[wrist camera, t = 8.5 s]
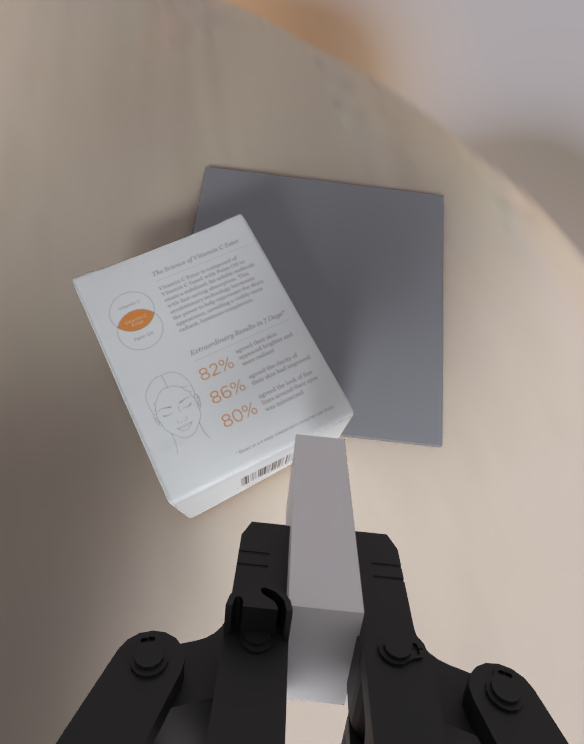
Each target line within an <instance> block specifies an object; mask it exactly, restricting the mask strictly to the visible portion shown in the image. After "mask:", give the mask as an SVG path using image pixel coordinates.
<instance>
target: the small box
mask: <svg viewBox="0 0 584 744" xmlns="http://www.w3.org/2000/svg"><path fill="white" fill-rule="evenodd" d="M73 284H74V287H75V290H76V292H77V294H78V296H79V298H80V301H81V303H82V305H83V307H84V309H85V312H86V314H87V316H88V319H89V321H90V323H91V326H92V328H93V330H94V332H95V335H96V337H97V339H98V342H99V344H100V346H101V349H102V351H103V353H104V355H105V358H106V360H107V362H108V365H109V367H110V369H111V372H112V374H113V377H114V379H115V381H116V384H117V386H118V388H119V390H120V393H121V395H122V397H123V400H124V402H125V404H126V407H127V409H128V411H129V413H130V416H131V418H132V420H133V422H134V424H135V427H136V429H137V431H138V434H139V436H140V438H141V441H142V443H143V445H144V448H145V450H146V452H147V455H148V457H149V459H150V461H151V464H152V466H153V468H154V471H155V473H156V475H157V478H158V480H159V482H160V485H161V487H162V489H163V492H164V494H165V496H166V498H167V500H168V502H169V503H170V504H171V505H173V506H174V507H175V508H176V509H178V510H179V511H180V512H182V513H183V514H184V515H186V516H187V517H188V518H193V517H195V516H197V515H199V514H201V513H203V512H205V511H207V510H208V509H210V508H212V507H214V506H216V505H218V504H220V503H221V502H223V501H225V500H227V499H229V498H230V497H232V496H234V495H236V494H238V493H240V492H241V491H243V490H245V489H247V488H249V487H250V486H252V485H254V484H256V483H258V482H259V481H261V480H263V479H265V478H267V477H269V476H270V475H272V474H274V473H276V472H278V471H279V470H281V469H283V468H285V467H287V466H289V465H291V464H292V460H293V452H294V445H295V437H296V434H301V435H310V436H319V437H329V438H339V437H340V435H341V433H342V432H343V430H344V429H345V427H346V426H347V424H348V422H349V421H350V419H351V418H352V416H353V409H352V407H351V405H350V403H349V401H348V400H347V398H346V396H345V394H344V392H343V391H342V389H341V387H340V386H339V384H338V382H337V380H336V379H335V377H334V375H333V373H332V372H331V370H330V368H329V367H328V365H327V363H326V361H325V360H324V358H323V356H322V354H321V352H320V351H319V349H318V347H317V345H316V344H315V342H314V340H313V338H312V337H311V335H310V333H309V332H308V330H307V328H306V326H305V325H304V323H303V321H302V319H301V318H300V316H299V314H298V312H297V311H296V309H295V307H294V305H293V303H292V302H291V300H290V298H289V296H288V295H287V293H286V291H285V289H284V287H283V286H282V284H281V282H280V280H279V278H278V277H277V275H276V273H275V271H274V270H273V268H272V266H271V264H270V262H269V260H268V259H267V257H266V255H265V253H264V251H263V250H262V248H261V246H260V245H259V243H258V241H257V239H256V238H255V236H254V234H253V232H252V231H251V229H250V227H249V226H248V224H247V222H246V220H245V219H244V217H243V216H242V215H241V214H238V215H236V216H234V217H232V218H229V219H227V220H225V221H223V222H221V223H219V224H217V225H214V226H212V227H210V228H207V229H205V230H202V231H200V232H197V233H194V234H192V235H189V236H187V237H184V238H182V239H179V240H177V241H174V242H172V243H169V244H167V245H164V246H161V247H159V248H156V249H154V250H151V251H148V252H146V253H143V254H141V255H138V256H135V257H133V258H130V259H128V260H125V261H122V262H120V263H117V264H114V265H112V266H109V267H107V268H104V269H101V270H98V271H91V272H88V273H86V274H83V275H80V276H77V277H75V278H74V279H73Z"/></svg>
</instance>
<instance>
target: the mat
mask: <svg viewBox="0 0 584 744" xmlns="http://www.w3.org/2000/svg"><path fill="white" fill-rule="evenodd" d="M238 214H241V215H242V216H243V217H244V219H245V220H246V222H247V224H248V226H249V227H250V229H251V231H252V232H253V234H254V236H255V238H256V239H257V241H258V243H259V245H260V246H261V248H262V250H263V251H264V253H265V255H266V257H267V259H268V260H269V262H270V264H271V266H272V268H273V270H274V271H275V273H276V275H277V277H278V278H279V280H280V282H281V284H282V286H283V287H284V289H285V291H286V293H287V295H288V296H289V298H290V300H291V302H292V303H293V305H294V307H295V309H296V311H297V312H298V314H299V316H300V318H301V319H302V321H303V323H304V325H305V326H306V328H307V330H308V332H309V333H310V335H311V337H312V338H313V340H314V342H315V344H316V345H317V347H318V349H319V351H320V352H321V354H322V356H323V358H324V360H325V361H326V363H327V365H328V367H329V368H330V370H331V372H332V373H333V375H334V377H335V379H336V380H337V382H338V384H339V386H340V387H341V389H342V391H343V392H344V394H345V396H346V398H347V400H348V401H349V403H350V405H351V407H352V409H353V416H352V418H351V419H350V421H349V422H348V424H347V426H346V427H345V429H344V430H343V432H342V433H341V435H340V436H346V437H355V438H364V439H373V440H381V441H390V442H399V443H408V444H417V445H425V446H434V447H441V446H442V396H443V195H435V194H427V193H419V192H411V191H402V190H394V189H386V188H378V187H369V186H361V185H353V184H345V183H337V182H328V181H320V180H312V179H304V178H296V177H287V176H279V175H271V174H263V173H255V172H246V171H238V170H230V169H222V168H214V167H206V169H205V174H204V179H203V184H202V189H201V194H200V199H199V204H198V209H197V214H196V219H195V225H194V230H193V234H194V233H197V232H200V231H202V230H205V229H207V228H210V227H212V226H214V225H217V224H219V223H221V222H223V221H225V220H227V219H229V218H232V217H234V216H236V215H238Z"/></svg>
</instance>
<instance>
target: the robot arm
mask: <svg viewBox="0 0 584 744" xmlns="http://www.w3.org/2000/svg"><path fill="white" fill-rule="evenodd" d="M403 579H404V578H403V573H402V569H401V564H400V559H399V554H398V550H397V548H396V547H395V545H394V544H393V543H392V541H391V540H390V538H389V537H388V536H387V535H386V534H377V533H367V532H357V531H355V527H354V518H353V509H352V500H351V491H350V483H349V474H348V465H347V456H346V447H345V439H338V438H329V437H319V436H310V435H301V434H296V437H295V445H294V452H293V460H292V468H291V476H290V484H289V492H288V500H287V509H286V525H278V524H269V523H259V522H251V524H250V525H249V526H248V527H247V529H246V530H245V531H244V532H243V534H242V536H241V542H240V548H239V554H238V560H237V566H236V572H235V579H234V585H233V591H232V593H231V594H230V596H229V598H228V601H227V603H226V609H225V622H224V624H223V626H222V627H221V628H220V629H219V630H218V631H216V632H215V633H214V634H212V635H210V636H208V637H207V638H204V639H200V640H197V641H193V642H188V643H183V644H180V643H179V642H178V640H177V639H176V638H175V637H173V636H171V635H169V634H167V633H166V632H159V631H149V632H143V633H139V634H137V635H135V636H133V637H132V638H130V639H128V640H127V641H126V642H125V643H124V644H123V645H122V646H121V647H120V648H119V649H118V650H117V652H116V653H115V655H114V656H113V658H112V659H111V661H110V662H109V664H108V666H107V667H106V669H105V670H104V672H103V673H102V675H101V676H100V678H99V679H98V681H97V682H96V684H95V685H94V687H93V688H92V690H91V691H90V693H89V694H88V696H87V697H86V699H85V700H84V702H83V703H82V705H81V706H80V708H79V709H78V711H77V712H76V714H75V715H74V717H73V718H72V720H71V721H70V723H69V724H68V726H67V727H66V729H65V730H64V732H63V734H62V735H61V737H60V738H59V740H58V741H57V743H56V744H285V726H286V699H291V700H301V701H311V702H322V703H332V704H342V705H344V703H345V698H346V694H347V695H348V710H349V712H348V717H347V721H346V725H345V730H344V734H343V739H342V743H341V744H568V742H567V741H566V739H565V737H564V736H563V734H562V733H561V731H560V730H559V728H558V726H557V725H556V723H555V722H554V720H553V719H552V717H551V715H550V714H549V712H548V711H547V709H546V708H545V706H544V704H543V703H542V701H541V700H540V698H539V697H538V695H537V694H536V692H535V690H534V689H533V688H532V687H531V685H530V684H529V683H528V682H527V681H526V680H525V678H524V677H522V676H521V675H519V674H518V673H517V672H515V671H514V670H512V669H510V668H508V667H505V666H503V665H500V664H492V663H485V664H482V665H480V666H477V667H476V668H475V669H474V670H473V671H472V673H468V672H466V671H463V670H460V669H458V668H455V667H453V666H450V665H448V664H446V663H444V662H442V661H440V660H438V659H437V658H435V657H434V656H433V655H431V654H430V653H429V652H428V651H427V650H426V648H425V645H424V644H423V642H422V641H421V640H420V639H419V638H418V637H417V636H416V633H415V630H414V626H413V621H412V617H411V612H410V607H409V602H408V597H407V593H406V588H405V583H404V582H403Z"/></svg>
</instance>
